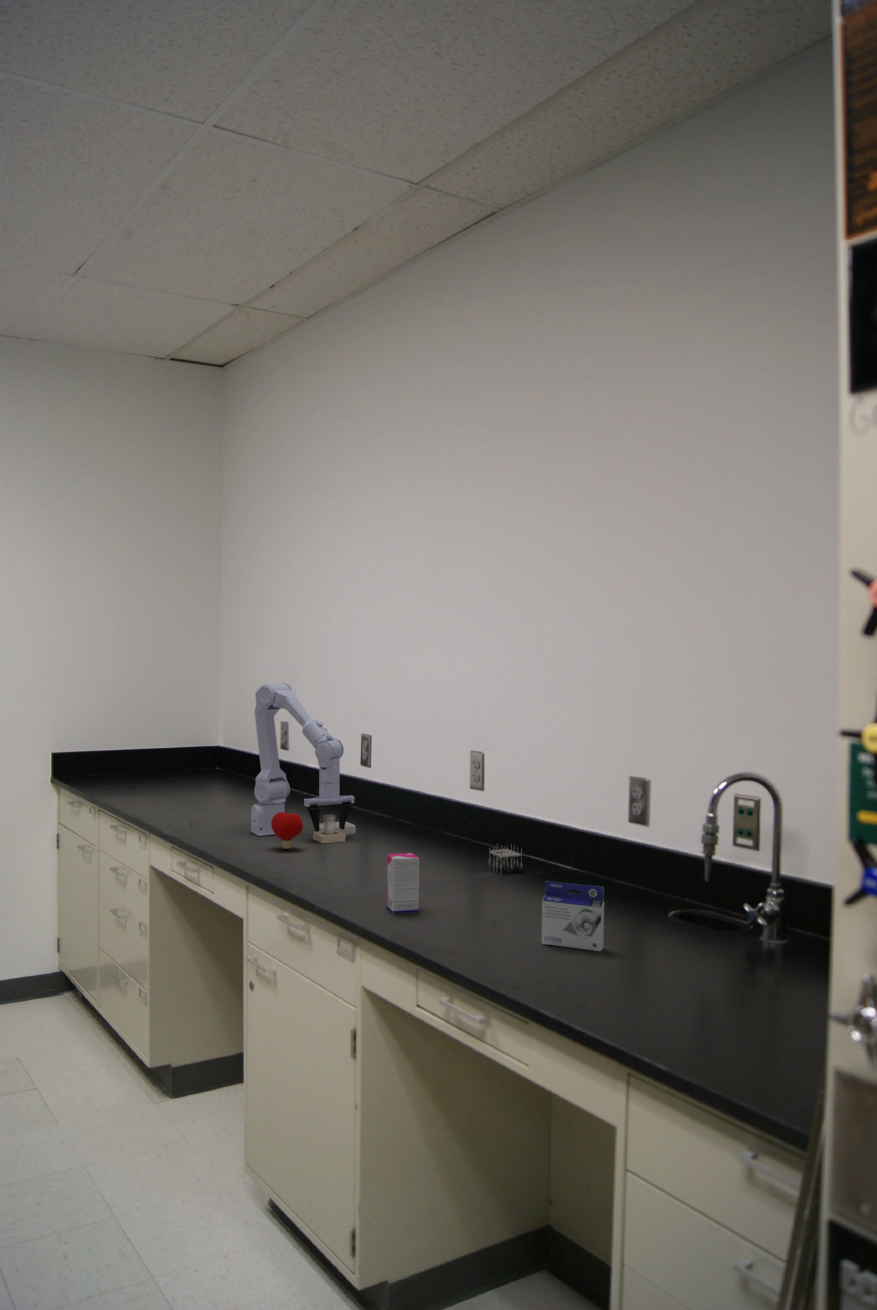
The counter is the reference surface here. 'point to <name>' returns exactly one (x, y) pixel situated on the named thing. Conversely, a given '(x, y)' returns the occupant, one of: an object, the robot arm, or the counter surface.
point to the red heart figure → (286, 827)
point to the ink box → (573, 916)
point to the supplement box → (402, 883)
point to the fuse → (329, 824)
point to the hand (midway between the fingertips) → (329, 829)
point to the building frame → (502, 854)
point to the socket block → (329, 837)
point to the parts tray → (348, 829)
